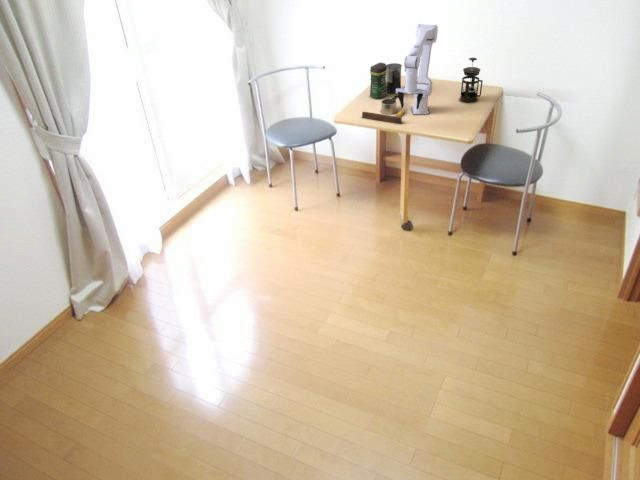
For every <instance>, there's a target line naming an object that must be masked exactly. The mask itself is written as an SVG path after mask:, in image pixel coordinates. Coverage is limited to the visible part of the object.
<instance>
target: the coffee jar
mask: <svg viewBox="0 0 640 480" xmlns="http://www.w3.org/2000/svg"><path fill="white" fill-rule="evenodd" d="M386 65H387V64H386V63H385V62H378V63H375V64H374V65H371V66H370V68H369V69H370V71H369V72H370V73H369V74H370V88H369V96H370V97H371V99H382V98H383V97H385V96H387V92H386V72H387V66H386Z"/></svg>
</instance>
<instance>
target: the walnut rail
mask: <svg viewBox="0 0 640 480" xmlns="http://www.w3.org/2000/svg"><path fill="white" fill-rule="evenodd" d="M361 117H362V119H366V120H367V119H368V120H372V121H373V120H374V121H379V122H386V123H391V124H398V125H401V124H402V123H403V122H402V121H403V120H402V119H403V118H402V116H401V117H396V116H393V115H390V114H383V113H376V112H370V111H362V112H361Z"/></svg>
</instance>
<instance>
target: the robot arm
mask: <svg viewBox="0 0 640 480" xmlns="http://www.w3.org/2000/svg"><path fill="white" fill-rule="evenodd" d="M438 32H439V27H438V25H437V24H424V23H423V24H421V23H418V24H417V26H416V29H415V36H416V41H415V43H414V44H413V45H412V46H411V48H410V50H409V53H408V55H406V56H405V57H404V62H403V66H404V72H405V76H404V77H405V79H404V87H401V88H397V89H396V93H395V94H396V95H397V96H398V98H397V99H398V101H399V104H400V108H401V109H403V108H404V103H405V101H404V100H405V94H407V95H413V106H411V107H412V108H411V109H412V114H413V115H429V114H430V113H429V108H428V105H429V97H430V96H431V95H432V91H433V81H432V79H431V78H429V70H430V69H429V68H430V61H431V54H432V47H433V44H434V43H436V42H437V41H438V39H437V38H438V34H439V33H438Z"/></svg>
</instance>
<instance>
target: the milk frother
mask: <svg viewBox="0 0 640 480" xmlns="http://www.w3.org/2000/svg"><path fill="white" fill-rule="evenodd" d="M386 66H387V72H386V93H389V94H397V93H396V89H397V88H402V66H403V65H402V64H401V63H398V62H393V63H387V64H386Z"/></svg>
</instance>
